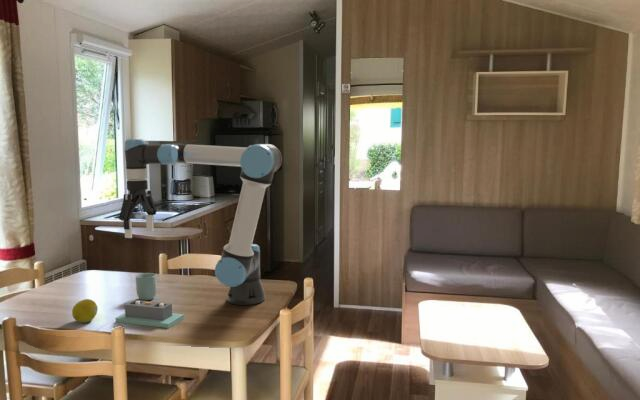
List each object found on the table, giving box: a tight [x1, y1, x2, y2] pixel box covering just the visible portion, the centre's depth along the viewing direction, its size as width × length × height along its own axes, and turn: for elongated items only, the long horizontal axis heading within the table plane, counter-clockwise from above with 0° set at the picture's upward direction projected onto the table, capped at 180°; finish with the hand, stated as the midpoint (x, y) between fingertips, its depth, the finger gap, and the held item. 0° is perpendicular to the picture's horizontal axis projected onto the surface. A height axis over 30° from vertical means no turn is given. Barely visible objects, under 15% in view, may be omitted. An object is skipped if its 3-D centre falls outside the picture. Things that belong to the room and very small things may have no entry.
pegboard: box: [115, 300, 185, 329], centre depth 188 cm, size 22×10×6 cm, turn 73°
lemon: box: [71, 298, 98, 324], centre depth 188 cm, size 11×8×8 cm
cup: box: [135, 272, 158, 301], centre depth 212 cm, size 8×8×10 cm
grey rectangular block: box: [124, 299, 173, 321], centre depth 188 cm, size 16×6×5 cm, turn 73°
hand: (139, 234), depth 201 cm, fingers open, 13 cm apart
